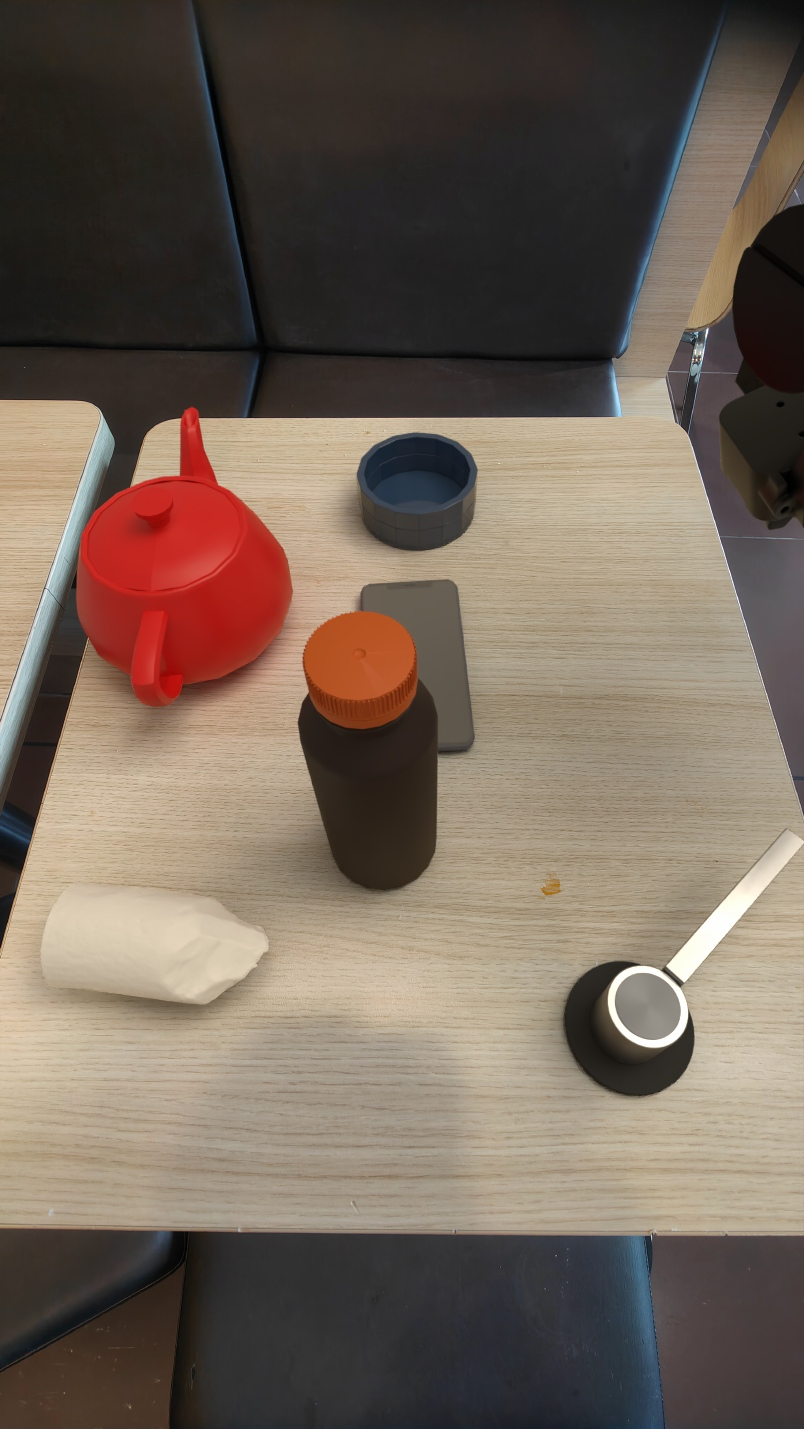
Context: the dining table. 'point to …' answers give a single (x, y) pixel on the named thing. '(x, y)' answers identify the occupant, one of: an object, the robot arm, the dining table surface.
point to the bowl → (417, 490)
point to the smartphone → (432, 648)
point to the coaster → (602, 1067)
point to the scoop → (676, 972)
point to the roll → (147, 943)
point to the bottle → (371, 748)
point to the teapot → (180, 578)
